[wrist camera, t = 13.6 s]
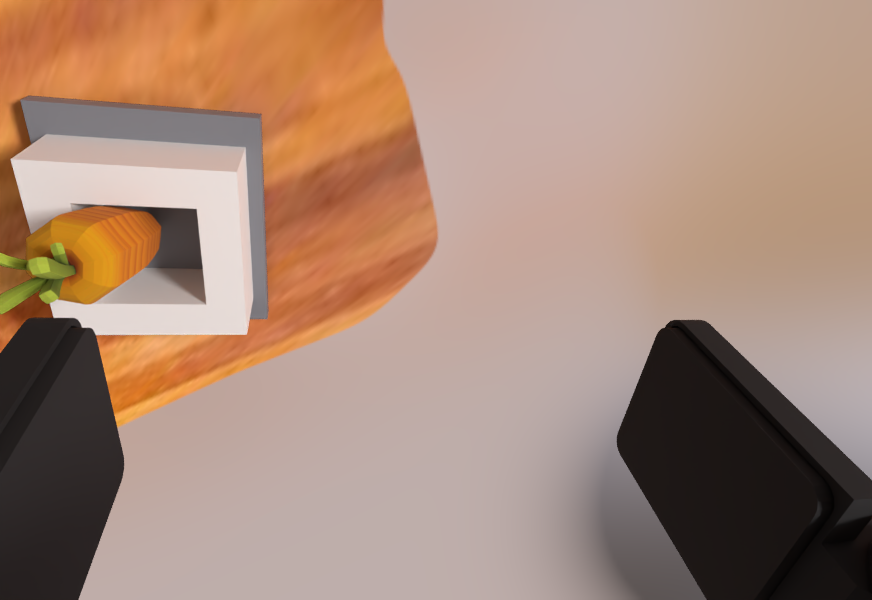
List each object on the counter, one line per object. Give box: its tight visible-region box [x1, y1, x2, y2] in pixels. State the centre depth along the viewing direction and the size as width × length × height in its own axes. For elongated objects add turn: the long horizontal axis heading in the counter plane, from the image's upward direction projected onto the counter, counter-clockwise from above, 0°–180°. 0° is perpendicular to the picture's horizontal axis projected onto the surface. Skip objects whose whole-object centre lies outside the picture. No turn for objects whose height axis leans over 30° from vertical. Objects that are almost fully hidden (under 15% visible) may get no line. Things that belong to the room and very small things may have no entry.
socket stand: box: [11, 96, 268, 335], centre depth 38 cm, size 16×14×6 cm
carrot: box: [0, 206, 161, 314], centre depth 32 cm, size 5×5×15 cm
